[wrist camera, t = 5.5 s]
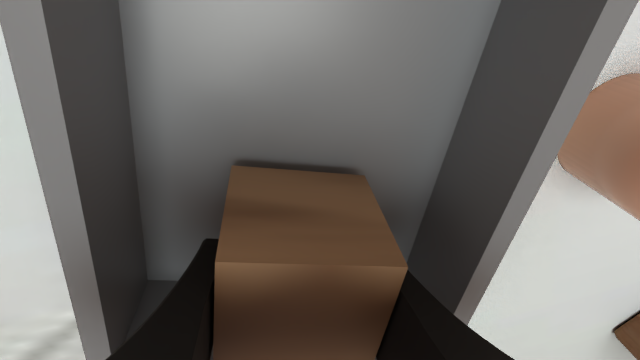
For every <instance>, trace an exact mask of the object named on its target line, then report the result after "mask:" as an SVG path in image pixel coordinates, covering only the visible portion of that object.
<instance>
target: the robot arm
mask: <svg viewBox="0 0 640 360" xmlns="http://www.w3.org/2000/svg"><path fill="white" fill-rule="evenodd" d="M218 242H219V239H211V238H206V239H205V240H203V242H202V244H201V246H200V248H199V250H198V252H197V253H196V255H195V257H194V258H193V260H192V261H191V263H190V265H189V266H188V268H187V269H186V270H185V272H184V273H183V275H182V276H181V278H180V279H179V280H178V282H177V283H176V285H175V286H174V287H173V289H172V290H171V291H170V292H169V294H168V295H167V296H166V297H165V298H164V300H163V301H162V302H161V303H160V305H159V306H158V307H157V308H156V309H155V311H154V312H153V313H152V314H151V315H150V316H149V317H148V318H147V319H146V321H145V322H144V323H143V324H142V325H141V326H140V327H139V328H138V329H137V330H136V331H135V332H134V333H133V334H132V335H131V336H130V337H129V338H128V339H127V340H126V341H125V342H124V343H123V344H122V345H121V346H120V347H119V348H118V349H117V350H115V351H114V352H113V353H112V354H111V355H110V356H109V357H108V358H107V359H106V360H210V356H211V352H212V347H213V338H214V286H215V259H216V253H217V247H218ZM376 359H377V360H514V359H513V358H511V357H510V356H508V355H507V354H505V353H504V352H502V351H501V350H499V349H498V348H496V347H495V346H494V345H492V344H491V343H489V342H488V341H487V340H485V339H484V338H482V337H481V336H480V335H478V334H477V333H476V332H474V331H473V330H472V329H471V328H469V327H468V326H467V325H466V324H464V323H463V322H462V321H461V320H460V319H458V318H457V317H456V316H455V315H454V314H452V313H451V312H450V311H449V310H448V309H447V308H446V307H445V306H444V305H442V304H441V303H440V302H439V301H438V300H437V299H436V298H435V297H434V296H433V295H432V294H431V293H430V292H429V291H428V290H427V289H426V288H425V287H424V286H423V285H422V284H421V283H420V282H419V281H418V280H417V279H416V278H415V277H414V276H413V275H412V274H411V273H410V271H409V270H408V269H407V272H406V275H405V278H404V280H403V283H402V286H401V289H400V291H399V294H398V297H397V300H396V302H395V305H394V308H393V311H392V313H391V316H390V319H389V322H388V324H387V327H386V330H385V332H384V335H383V338H382V341H381V343H380V346H379V349H378V352H377V354H376Z"/></svg>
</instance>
